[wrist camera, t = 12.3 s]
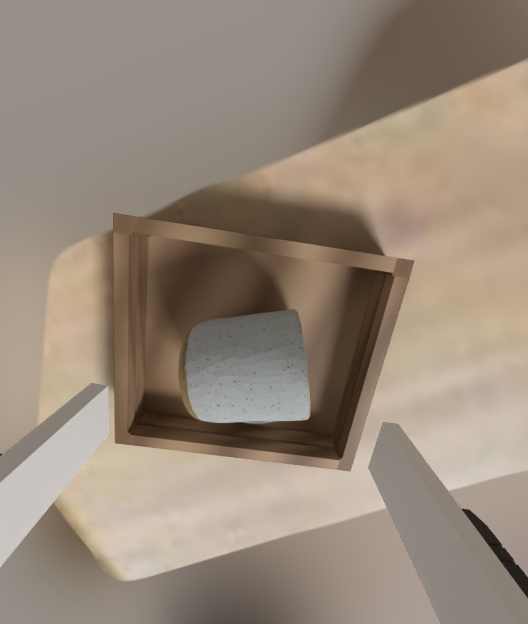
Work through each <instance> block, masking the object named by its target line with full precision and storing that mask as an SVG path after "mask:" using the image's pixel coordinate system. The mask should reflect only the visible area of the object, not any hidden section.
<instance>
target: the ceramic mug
mask: <svg viewBox="0 0 528 624" xmlns="http://www.w3.org/2000/svg"><path fill="white" fill-rule="evenodd" d="M178 378H179V387H180V392H181V396H182V399H183V403H184V405H185V407H186V409H187V410H188V412H189V413H190V414H191V415H192V416H193V417H194V418H196V419H199V420H201V421H207V422H215V423H232V422H244V423H256V424H257V423H268V422H273V421H299V420H307V419H309V417H310V391H309V382H308V371H307V359H306V351H305V344H304V340H303V332H302V327H301V323H300V318H299V314H298V312H297V310H295V309H291V310H284V311H276V312H268V313H259V314H251V315H245V316H238V317H228V318H218V319H212V320H208V321H205V322H201V323H198V324H196V325H194V326H193V327H192V328H191V329H190V330H189V331H188V332H187V334H186V336H185V338H184V340H183V342H182V345H181V349H180V354H179V365H178Z"/></svg>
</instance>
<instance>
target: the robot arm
mask: <svg viewBox="0 0 528 624" xmlns="http://www.w3.org/2000/svg"><path fill="white" fill-rule="evenodd" d="M108 435H109V410H108V385H101V384H93V383H91V384H90V385H89V386H87V387H86V388H85V389H84V390H82V391H81V392H80V393H79V394H77V395H76V396H75V397H74V398H72V399H71V400H70V401H69V402H67V403H66V404H65V405H64V406H62V407H61V408H60V409H59V410H57V411H56V412H55V413H54V414H52V415H51V416H50V417H49V418H47V419H46V420H45V421H44V422H42V423H41V424H40V425H39V426H37V427H36V428H35V429H34V430H32V431H31V432H30V433H29V434H27V435H26V436H25V437H24V438H22V439H21V440H20V441H19V442H18V443H16V444H15V445H14V446H12V447H11V448H10V449H9V450H7V451H6V452H5V453H4V454H0V567H1V565H2V564H3V563H4V562H5V561H6V559H7V558H8V557H9V556H10V554H11V553H12V552H13V551H14V549H15V548H16V547H17V546H18V545H19V543H20V542H21V541H22V540H23V539H24V537H25V536H26V535H27V534H28V533H29V531H30V530H31V529H32V528H33V527H34V525H35V524H36V523H37V522H38V520H39V519H40V518H41V517H42V516H43V514H44V513H45V512H46V511H47V509H48V508H49V507H50V505H52V503H53V502H54V501H55V500H56V498H57V497H58V496H59V495H60V494H61V492H62V491H63V490H64V489H65V487H66V486H67V485H68V484H69V483H70V481H71V480H72V479H73V478H74V477H75V475H76V474H77V473H78V472H79V470H80V469H81V468H82V467H83V466H84V464H85V463H86V462H87V461H88V459H89V458H90V457H91V456H92V455H93V453H94V452H95V451H96V450H97V448H98V447H99V446H100V445H101V444H102V442H103V441H104V440H105V439H106V437H107V436H108ZM368 468H369V470H370V472H371V474H372V477H373V479H374V481H375V483H376V485H377V487H378V489H379V492H380V494H381V496H382V498H383V500H384V502H385V505H386V507H387V509H388V511H389V513H390V515H391V517H392V520H393V522H394V524H395V526H396V528H397V530H398V533H399V535H400V537H401V539H402V541H403V543H404V546H405V548H406V550H407V552H408V554H409V556H410V558H411V560H412V563H413V565H414V567H415V569H416V571H417V574H418V576H419V578H420V580H421V582H422V584H423V586H424V589H425V591H426V593H427V595H428V597H429V599H430V602H431V603H432V606H433V608H434V610H435V612H436V614H437V617H438V619H439V621H440V623H441V624H528V577H527V576H526V575H525V573H524V572H523V571H522V570H521V569H520V567H519V566H518V565H516V564H515V562H514V559H513V558H512V557H511V556H510V554H509V553H508V552H507V551H506V549H505V548H503V547H502V544H501V543H500V542H499V540H498V539H497V538H496V537H495V535H494V534H493V533H492V532H491V530H490V529H489V528H488V527H487V525H485V524H484V523H483V522H482V521H481V520H480V519H479V518H478V517H477V516H476V515H475V514H473V513H472V512H471V511H470V510H468V509H461V508H460V507H459V505H458V504H457V503H456V501H455V500H454V498H453V497H452V496H451V494H450V493H449V492H448V490H447V489H446V488H445V486H444V485H443V484H442V482H441V481H440V480H439V478H438V477H437V476H436V474H435V473H434V471H433V470H432V469H431V467H430V466H429V465H428V463H427V462H426V461H425V459H424V458H423V457H422V455H421V454H420V453H419V451H418V450H417V449H416V447H415V446H414V445H413V443H412V442H411V441H410V439H409V438H408V436H407V435H406V434H405V432H404V431H403V430H402V428H401V427H400V426H399V424H394V423H386V422H383V423H382V427H381V430H380V433H379V436H378V439H377V442H376V445H375V448H374V451H373V454H372V457H371V460H370V463H369V466H368Z"/></svg>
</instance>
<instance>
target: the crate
mask: <svg viewBox="0 0 528 624" xmlns="http://www.w3.org/2000/svg"><path fill="white" fill-rule="evenodd" d="M113 259H114V393H115V443H118V444H126V445H135V446H143V447H151V448H160V449H168V450H177V451H185V452H193V453H202V454H210V455H218V456H227V457H235V458H243V459H252V460H260V461H269V462H277V463H285V464H294V465H302V466H310V467H319V468H327V469H336V470H344V471H351V468H352V464H353V461H354V458H355V454H356V451H357V448H358V445H359V441H360V438H361V435H362V431H363V428H364V425H365V422H366V418H367V415H368V412H369V408H370V405H371V402H372V399H373V395H374V392H375V389H376V386H377V382H378V379H379V376H380V372H381V369H382V366H383V363H384V359H385V356H386V353H387V349H388V346H389V343H390V340H391V336H392V333H393V330H394V326H395V323H396V320H397V317H398V313H399V310H400V307H401V303H402V300H403V297H404V294H405V290H406V287H407V284H408V280H409V277H410V274H411V271H412V267H413V264H414V261H413V260H407V259H401V258H394V257H388V256H382V255H375V254H369V253H363V252H356V251H350V250H344V249H337V248H331V247H325V246H318V245H312V244H306V243H300V242H293V241H287V240H281V239H274V238H268V237H262V236H255V235H249V234H243V233H236V232H230V231H224V230H217V229H211V228H205V227H198V226H192V225H186V224H179V223H173V222H167V221H160V220H154V219H148V218H142V217H135V216H129V215H123V214H116V213H113ZM291 309H295V310H297V312H298V314H299V318H300V323H301V327H302V332H303V340H304V344H305V351H306V359H307V371H308V382H309V391H310V417H309V419H307V420H299V421H273V422H268V423H257V424H256V423H244V422H232V423H215V422H207V421H201V420H199V419H196V418H194V417H193V416H192V415H191V414H190V413H189V412H188V410H187V409H186V407H185V405H184V403H183V399H182V396H181V392H180V387H179V378H178V365H179V354H180V349H181V345H182V342H183V340H184V338H185V336H186V334H187V332H188V331H189V330H190V329H191V328H192V327H193V326H194V325H196V324H198V323H201V322H205V321H208V320H212V319H218V318H228V317H238V316H245V315H251V314H259V313H268V312H276V311H284V310H291Z"/></svg>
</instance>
